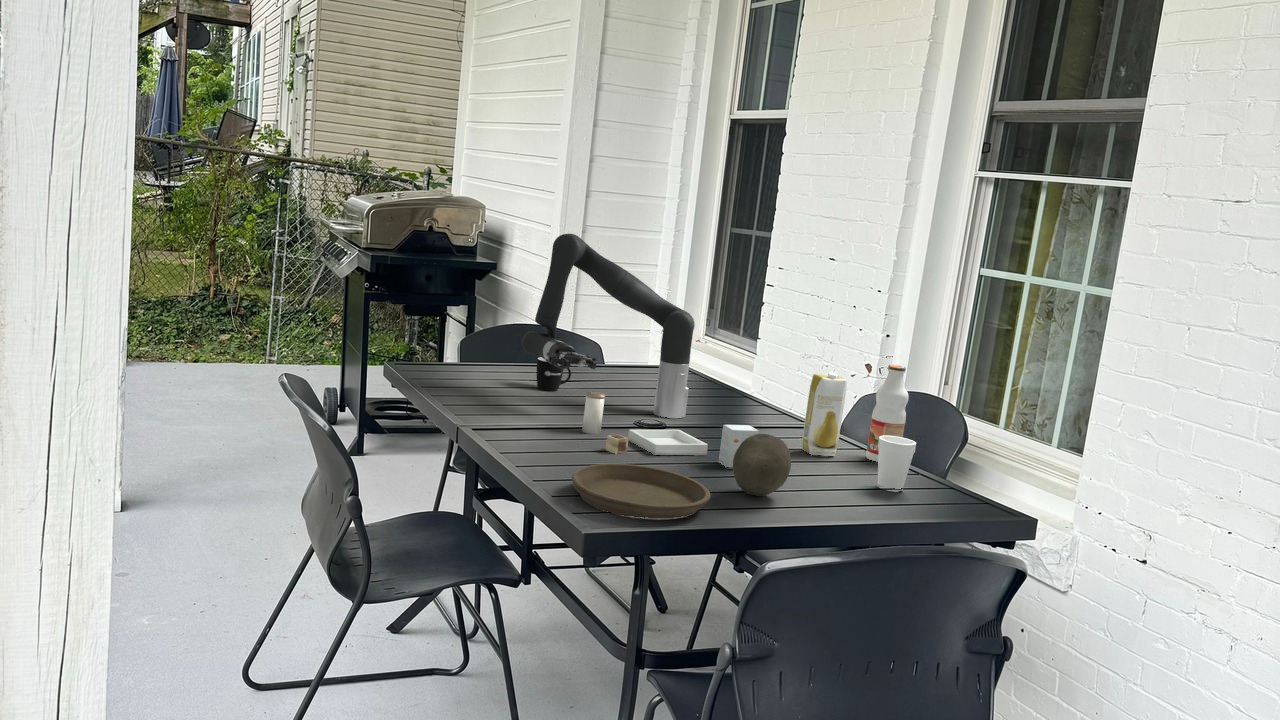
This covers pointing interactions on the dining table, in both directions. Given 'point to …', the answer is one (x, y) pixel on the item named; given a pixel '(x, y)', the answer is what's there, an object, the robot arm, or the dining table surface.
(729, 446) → the small box
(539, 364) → the mug
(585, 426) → the canister
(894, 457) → the foam cup
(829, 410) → the juice carton
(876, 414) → the fruit juice
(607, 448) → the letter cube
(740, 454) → the cantaloupe
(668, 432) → the tray
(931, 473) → the dining table surface
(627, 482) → the plant saucer
